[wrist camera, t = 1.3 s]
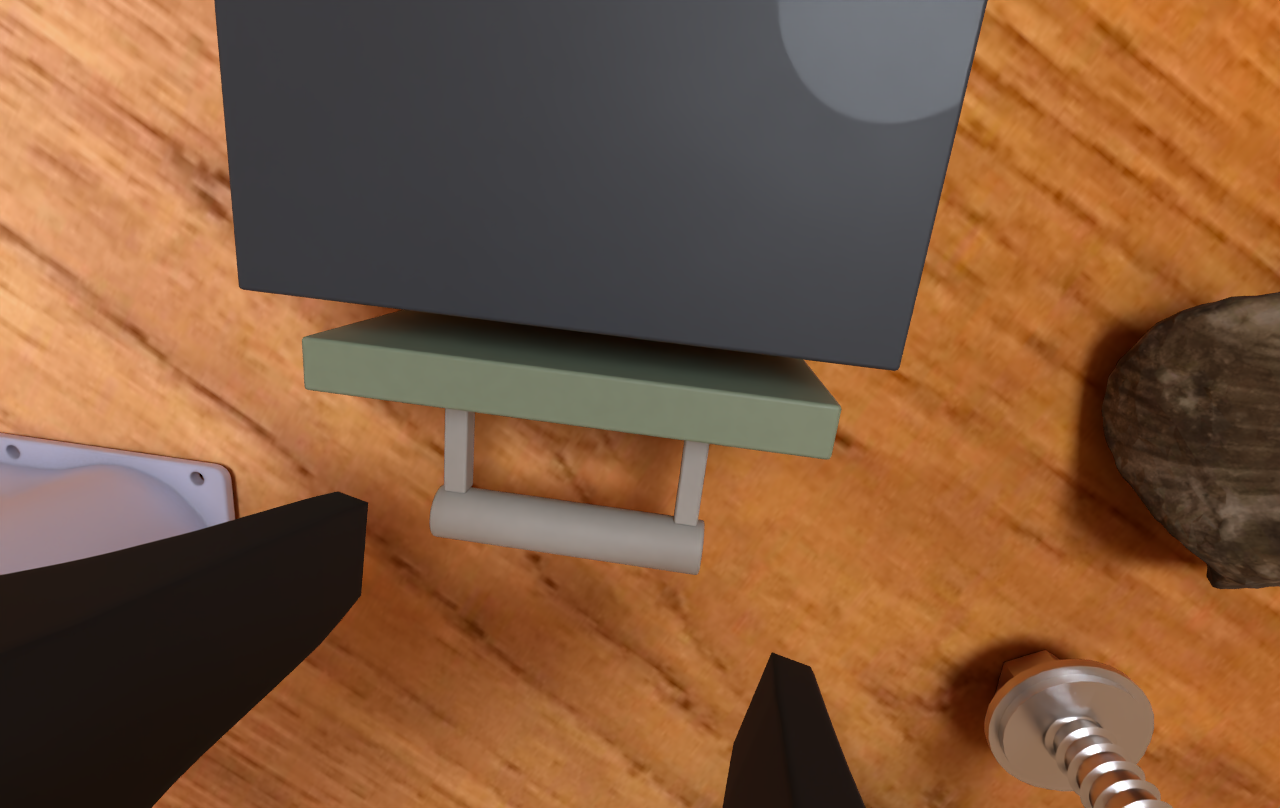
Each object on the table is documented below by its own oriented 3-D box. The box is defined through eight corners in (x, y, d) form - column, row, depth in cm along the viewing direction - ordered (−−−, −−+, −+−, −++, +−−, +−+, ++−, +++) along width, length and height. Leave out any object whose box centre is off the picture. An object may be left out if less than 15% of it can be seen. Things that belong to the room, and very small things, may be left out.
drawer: (766, 518, 19) (793, 636, 14) (421, 469, 20) (312, 563, 14) (894, -165, 14) (1022, -423, 8) (422, -199, 15) (253, -458, 9)
